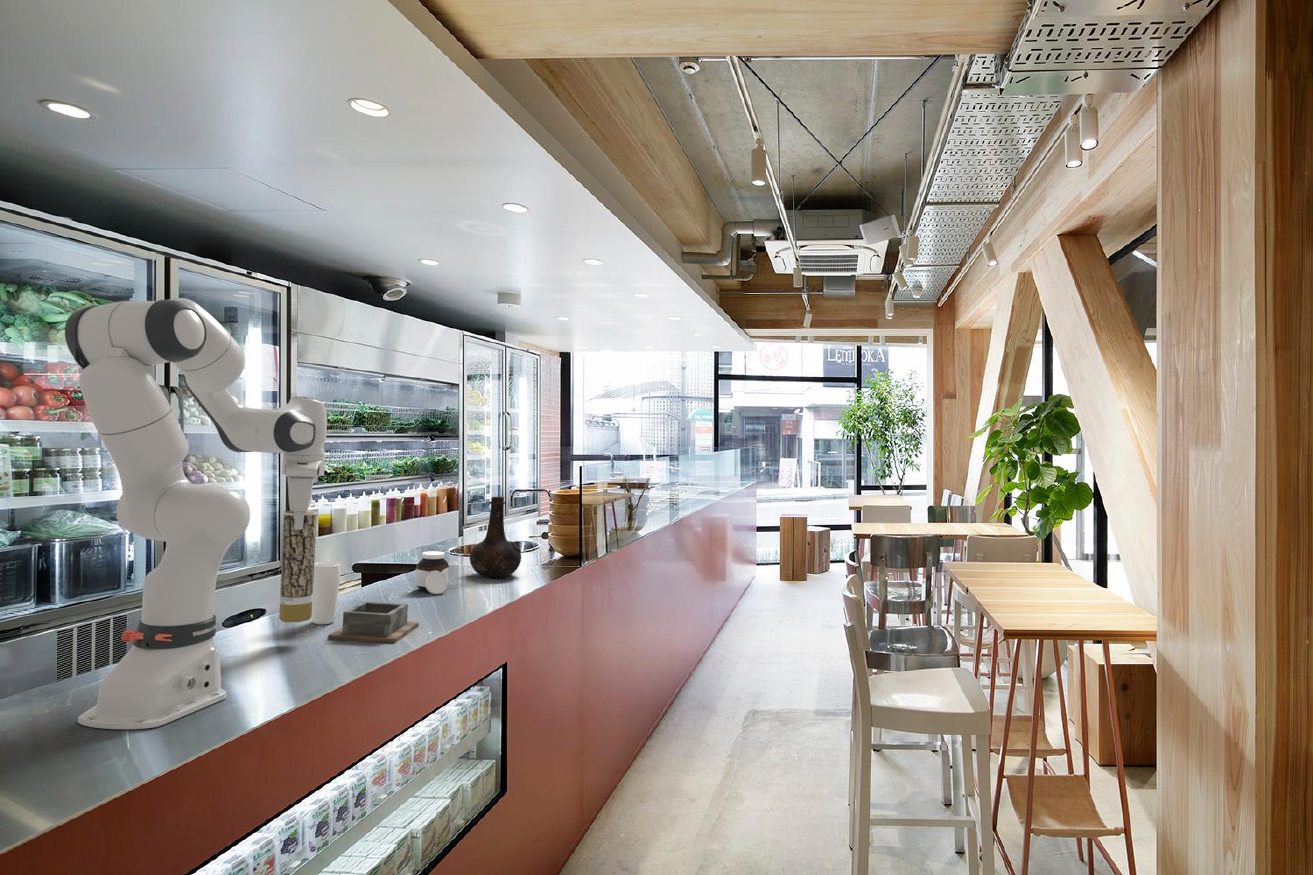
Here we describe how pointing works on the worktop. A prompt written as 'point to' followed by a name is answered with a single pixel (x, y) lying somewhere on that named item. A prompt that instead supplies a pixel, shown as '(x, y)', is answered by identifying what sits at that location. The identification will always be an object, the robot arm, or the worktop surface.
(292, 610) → the paper tube
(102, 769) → the worktop surface
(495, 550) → the dark brown vase
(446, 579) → the spread jar
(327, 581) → the drinking glass
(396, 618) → the grey square open box
